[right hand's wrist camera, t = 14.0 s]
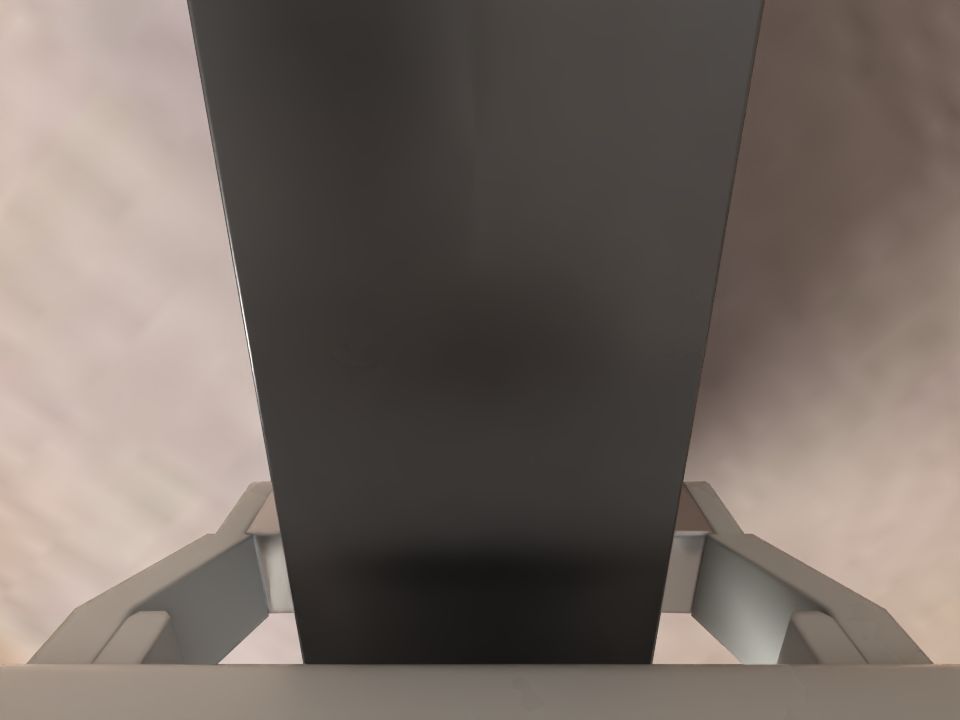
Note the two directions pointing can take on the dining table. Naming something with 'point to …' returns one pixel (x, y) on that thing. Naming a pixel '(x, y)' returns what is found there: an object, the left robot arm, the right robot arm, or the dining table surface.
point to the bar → (476, 304)
